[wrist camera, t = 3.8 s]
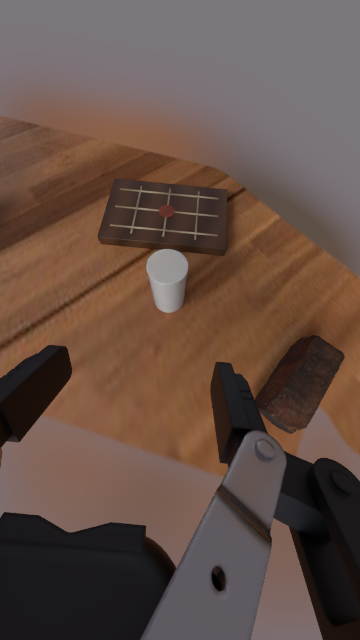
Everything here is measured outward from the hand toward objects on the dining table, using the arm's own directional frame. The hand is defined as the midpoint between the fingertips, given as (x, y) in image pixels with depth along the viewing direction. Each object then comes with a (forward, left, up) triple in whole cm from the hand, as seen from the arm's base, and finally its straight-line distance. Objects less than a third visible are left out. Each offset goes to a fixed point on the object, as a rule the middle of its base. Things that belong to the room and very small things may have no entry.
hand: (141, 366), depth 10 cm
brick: (+16, +1, -14) cm, 21 cm away
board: (-2, +26, -14) cm, 29 cm away
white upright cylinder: (0, +11, -14) cm, 18 cm away
